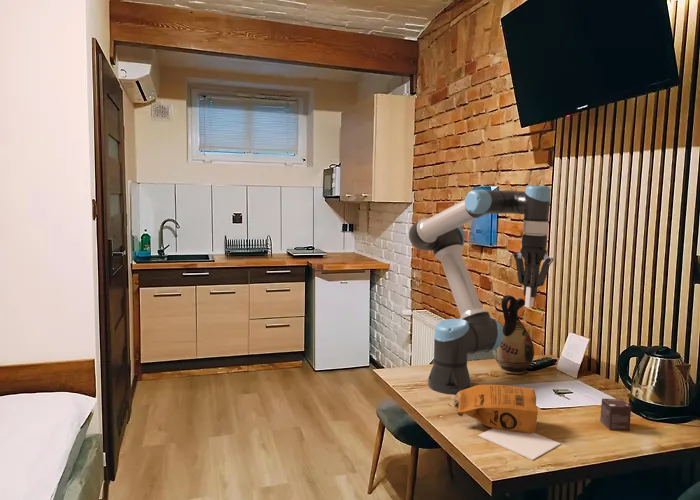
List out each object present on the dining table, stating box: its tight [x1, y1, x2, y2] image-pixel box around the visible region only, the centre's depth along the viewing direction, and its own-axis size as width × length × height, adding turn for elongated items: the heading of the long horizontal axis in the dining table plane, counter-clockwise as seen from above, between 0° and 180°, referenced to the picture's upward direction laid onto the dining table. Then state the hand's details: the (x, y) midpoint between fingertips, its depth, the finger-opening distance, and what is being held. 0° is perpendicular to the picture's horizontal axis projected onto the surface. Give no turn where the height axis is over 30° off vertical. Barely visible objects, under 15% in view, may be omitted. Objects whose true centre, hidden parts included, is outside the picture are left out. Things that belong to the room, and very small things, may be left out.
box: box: [599, 398, 632, 431], centre depth 152 cm, size 6×6×7 cm
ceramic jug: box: [492, 295, 535, 375], centre depth 198 cm, size 17×15×30 cm
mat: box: [477, 428, 561, 461], centre depth 142 cm, size 17×14×1 cm
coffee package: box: [457, 384, 539, 433], centre depth 151 cm, size 10×12×22 cm
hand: (529, 306), depth 166 cm, fingers closed
